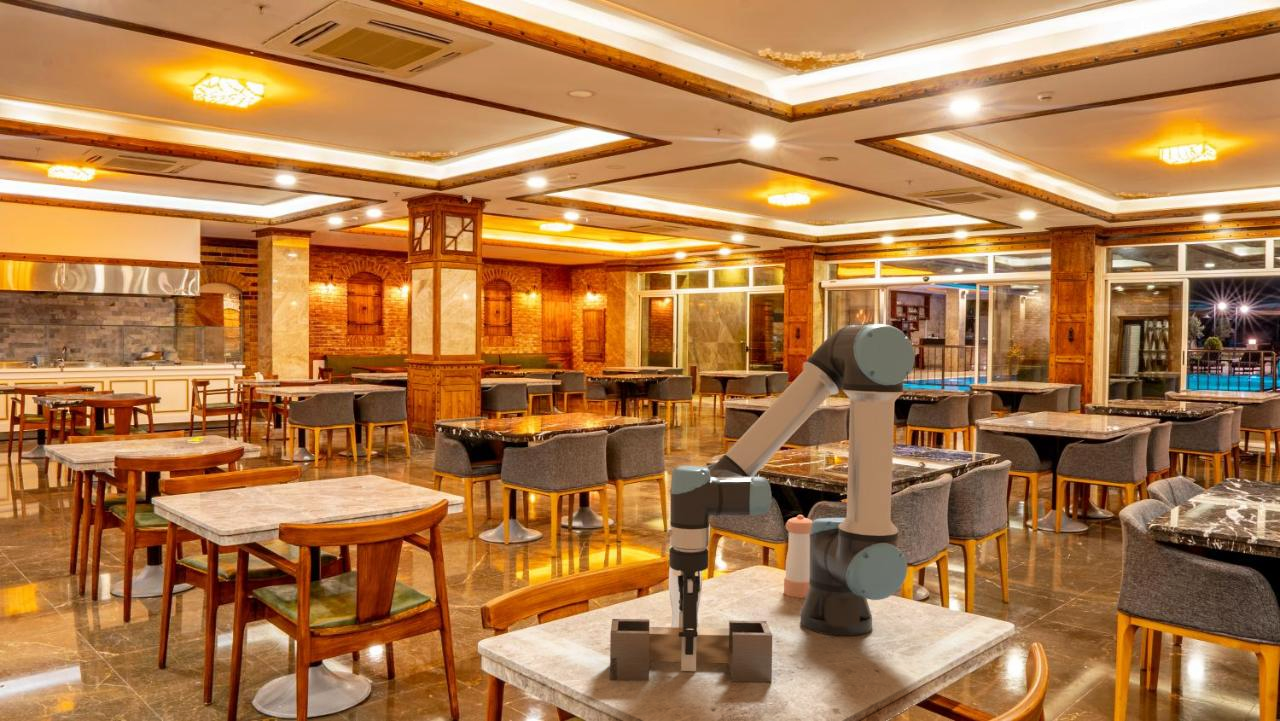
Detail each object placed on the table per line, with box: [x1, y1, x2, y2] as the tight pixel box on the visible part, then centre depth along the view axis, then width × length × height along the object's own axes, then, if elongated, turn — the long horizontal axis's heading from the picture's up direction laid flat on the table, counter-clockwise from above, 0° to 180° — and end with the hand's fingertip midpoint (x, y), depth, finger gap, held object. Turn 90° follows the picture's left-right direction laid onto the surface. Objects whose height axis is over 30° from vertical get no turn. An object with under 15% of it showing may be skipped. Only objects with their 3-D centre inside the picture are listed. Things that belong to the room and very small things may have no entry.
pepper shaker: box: [783, 514, 814, 599], centre depth 212 cm, size 7×7×19 cm
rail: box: [649, 626, 729, 664], centre depth 168 cm, size 22×4×6 cm, turn 88°
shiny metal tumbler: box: [668, 566, 703, 628], centre depth 182 cm, size 7×7×15 cm
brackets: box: [609, 618, 773, 683], centre depth 161 cm, size 29×8×8 cm, turn 89°
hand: (686, 657), depth 168 cm, fingers open, 13 cm apart
